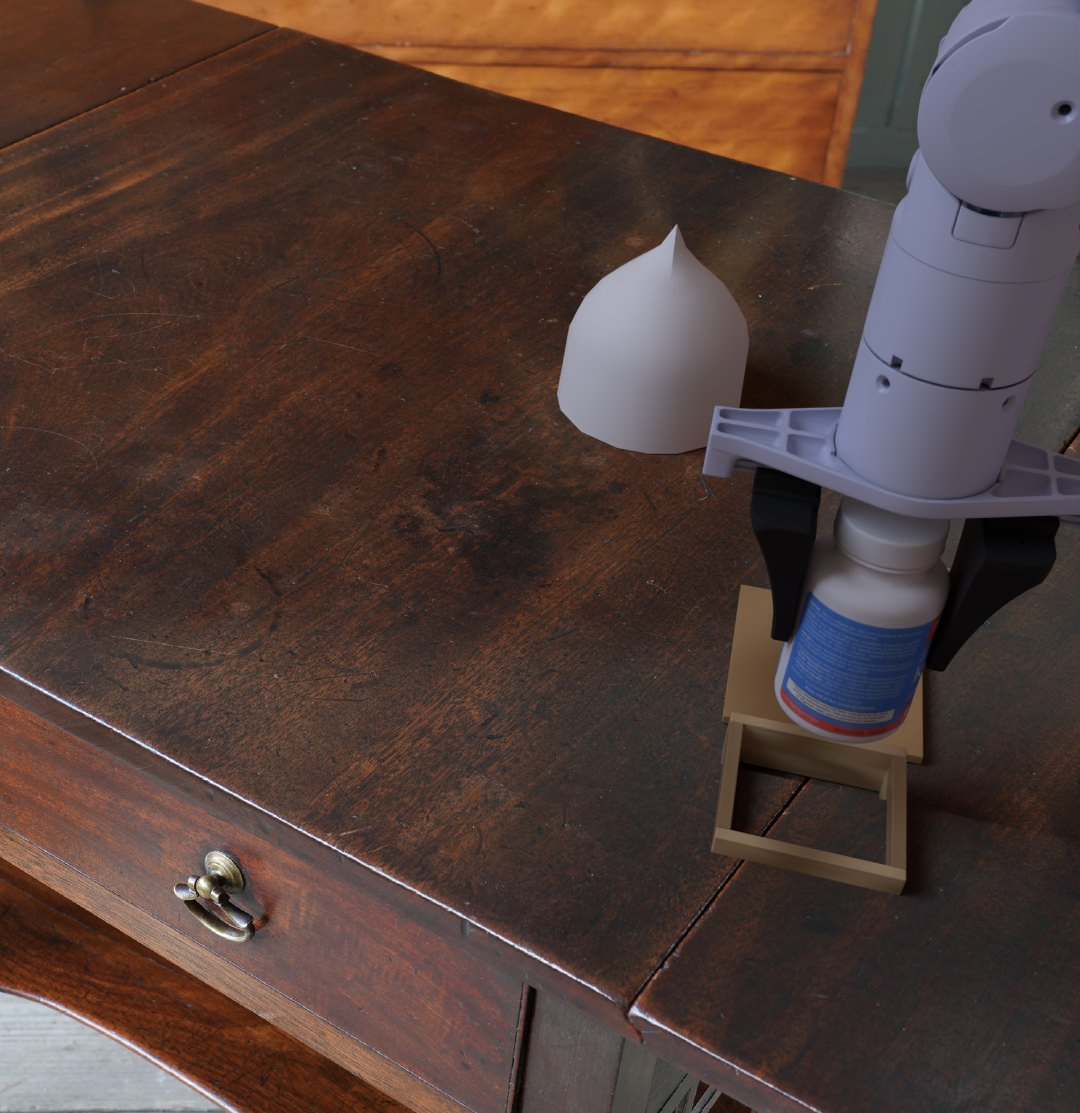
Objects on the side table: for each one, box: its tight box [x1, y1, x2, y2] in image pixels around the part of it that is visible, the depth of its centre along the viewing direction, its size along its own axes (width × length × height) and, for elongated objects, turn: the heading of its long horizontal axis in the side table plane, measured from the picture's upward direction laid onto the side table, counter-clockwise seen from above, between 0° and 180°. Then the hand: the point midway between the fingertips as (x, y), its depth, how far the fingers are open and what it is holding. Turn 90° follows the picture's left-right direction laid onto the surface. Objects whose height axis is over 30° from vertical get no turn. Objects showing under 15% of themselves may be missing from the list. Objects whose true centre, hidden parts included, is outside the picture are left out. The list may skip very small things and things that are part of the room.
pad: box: [721, 583, 924, 765], centre depth 71 cm, size 9×10×1 cm
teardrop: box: [556, 223, 750, 455], centre depth 86 cm, size 11×11×12 cm
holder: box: [710, 712, 908, 896], centre depth 63 cm, size 8×8×2 cm
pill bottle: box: [775, 495, 951, 744], centre depth 58 cm, size 6×5×10 cm
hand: (858, 639), depth 59 cm, fingers closed on pill bottle, 5 cm apart
